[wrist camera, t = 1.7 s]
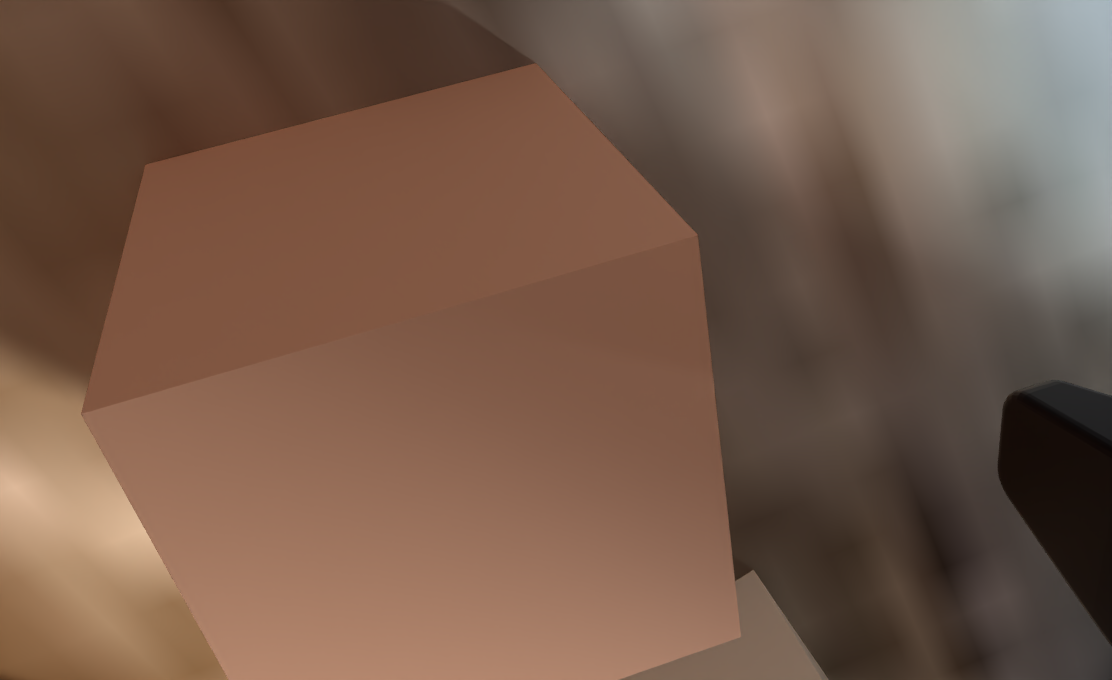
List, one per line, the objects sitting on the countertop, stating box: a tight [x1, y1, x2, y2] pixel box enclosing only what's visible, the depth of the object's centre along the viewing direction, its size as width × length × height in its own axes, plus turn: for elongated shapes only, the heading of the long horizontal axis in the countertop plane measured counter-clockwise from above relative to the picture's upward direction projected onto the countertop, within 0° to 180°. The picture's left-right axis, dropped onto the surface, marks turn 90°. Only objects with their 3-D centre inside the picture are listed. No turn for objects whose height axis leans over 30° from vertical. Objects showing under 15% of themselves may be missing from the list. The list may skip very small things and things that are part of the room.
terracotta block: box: [81, 63, 741, 680], centre depth 10 cm, size 4×4×5 cm
